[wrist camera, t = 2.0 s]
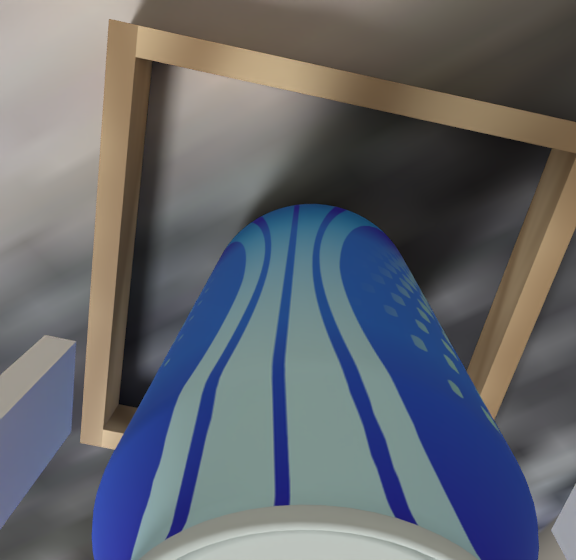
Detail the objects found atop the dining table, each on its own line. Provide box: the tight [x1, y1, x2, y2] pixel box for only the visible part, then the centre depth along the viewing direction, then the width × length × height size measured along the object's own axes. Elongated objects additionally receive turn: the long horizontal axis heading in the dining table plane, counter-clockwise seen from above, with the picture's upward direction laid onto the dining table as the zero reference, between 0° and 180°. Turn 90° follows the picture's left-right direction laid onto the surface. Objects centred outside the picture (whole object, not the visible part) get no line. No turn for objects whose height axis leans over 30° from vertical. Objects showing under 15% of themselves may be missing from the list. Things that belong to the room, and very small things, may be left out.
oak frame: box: [80, 19, 576, 449], centre depth 21 cm, size 18×18×2 cm
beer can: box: [92, 204, 539, 560], centre depth 15 cm, size 8×8×16 cm
